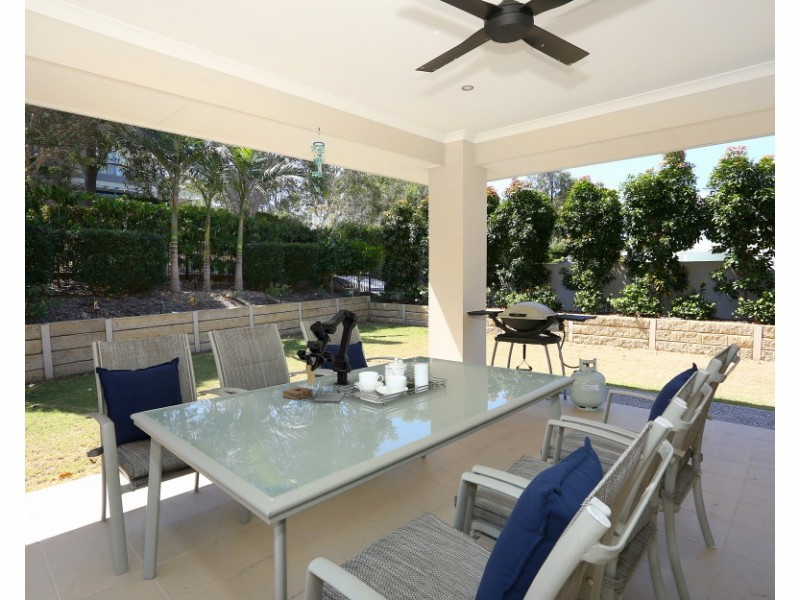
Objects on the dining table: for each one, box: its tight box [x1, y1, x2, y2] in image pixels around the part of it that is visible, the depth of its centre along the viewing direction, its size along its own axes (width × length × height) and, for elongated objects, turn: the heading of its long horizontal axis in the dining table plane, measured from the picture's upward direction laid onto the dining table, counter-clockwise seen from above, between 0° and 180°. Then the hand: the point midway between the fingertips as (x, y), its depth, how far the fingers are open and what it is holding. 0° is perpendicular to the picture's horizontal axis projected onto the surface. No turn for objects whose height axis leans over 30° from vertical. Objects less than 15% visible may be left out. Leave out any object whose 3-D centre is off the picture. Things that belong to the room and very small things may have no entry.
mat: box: [313, 392, 345, 404], centre depth 218 cm, size 12×12×1 cm
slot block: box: [282, 386, 314, 401], centre depth 223 cm, size 10×10×3 cm
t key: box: [305, 362, 317, 387], centre depth 219 cm, size 5×2×10 cm, turn 159°
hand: (309, 370), depth 218 cm, fingers closed on t key, 2 cm apart
